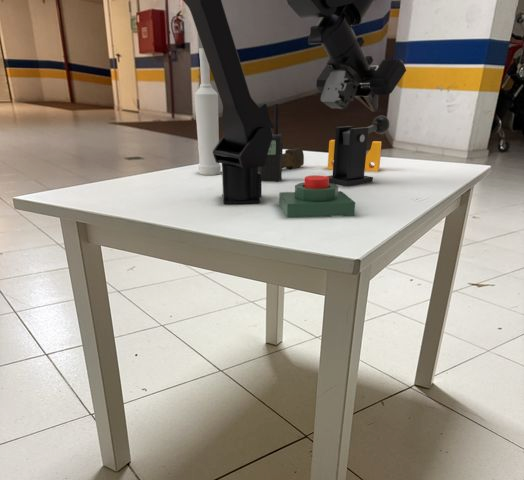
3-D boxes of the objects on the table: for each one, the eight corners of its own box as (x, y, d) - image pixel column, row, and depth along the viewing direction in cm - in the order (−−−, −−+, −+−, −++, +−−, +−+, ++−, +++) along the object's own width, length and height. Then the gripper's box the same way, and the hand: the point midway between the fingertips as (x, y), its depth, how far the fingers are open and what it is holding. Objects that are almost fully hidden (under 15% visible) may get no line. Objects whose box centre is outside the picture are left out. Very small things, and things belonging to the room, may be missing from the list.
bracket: (348, 178, 110) (352, 125, 105) (372, 183, 105) (378, 127, 100) (322, 182, 106) (325, 127, 101) (346, 187, 101) (351, 129, 96)
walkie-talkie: (258, 181, 106) (258, 103, 99) (262, 178, 109) (262, 103, 102) (280, 182, 105) (281, 104, 98) (283, 179, 108) (285, 103, 101)
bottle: (222, 171, 118) (218, 48, 106) (218, 175, 113) (213, 47, 101) (201, 171, 118) (194, 49, 106) (196, 175, 114) (189, 47, 102)
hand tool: (257, 177, 111) (257, 155, 109) (245, 174, 114) (244, 153, 112) (311, 168, 123) (312, 148, 121) (299, 166, 126) (300, 146, 123)
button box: (287, 217, 79) (287, 192, 77) (279, 205, 87) (279, 181, 85) (354, 216, 80) (356, 190, 78) (340, 203, 88) (342, 180, 86)
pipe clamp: (379, 169, 121) (382, 140, 118) (377, 171, 118) (380, 142, 114) (330, 166, 124) (332, 139, 121) (327, 169, 121) (329, 140, 117)
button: (306, 191, 80) (307, 179, 79) (302, 186, 83) (302, 175, 82) (331, 190, 80) (331, 179, 79) (325, 185, 84) (326, 175, 83)
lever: (379, 130, 108) (379, 113, 106) (393, 132, 106) (392, 113, 103) (340, 147, 103) (339, 129, 101) (353, 149, 100) (352, 130, 98)
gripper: (284, 81, 97) (322, 138, 108) (356, 81, 84) (390, 145, 96) (315, 35, 98) (349, 96, 109) (391, 28, 85) (421, 98, 96)
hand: (375, 109), depth 102 cm, fingers closed
